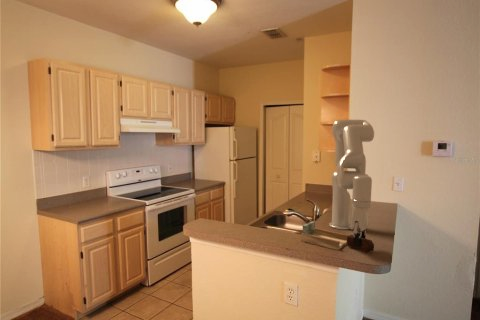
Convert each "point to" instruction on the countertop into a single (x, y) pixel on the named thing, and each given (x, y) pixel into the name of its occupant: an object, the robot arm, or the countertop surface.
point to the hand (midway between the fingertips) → (359, 244)
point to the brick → (366, 244)
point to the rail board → (323, 237)
